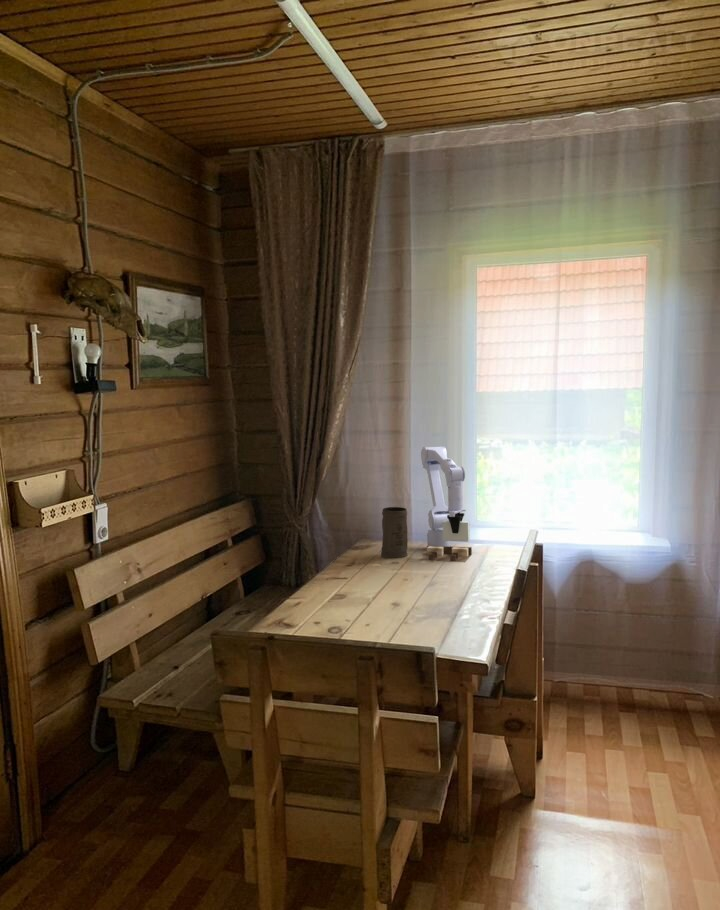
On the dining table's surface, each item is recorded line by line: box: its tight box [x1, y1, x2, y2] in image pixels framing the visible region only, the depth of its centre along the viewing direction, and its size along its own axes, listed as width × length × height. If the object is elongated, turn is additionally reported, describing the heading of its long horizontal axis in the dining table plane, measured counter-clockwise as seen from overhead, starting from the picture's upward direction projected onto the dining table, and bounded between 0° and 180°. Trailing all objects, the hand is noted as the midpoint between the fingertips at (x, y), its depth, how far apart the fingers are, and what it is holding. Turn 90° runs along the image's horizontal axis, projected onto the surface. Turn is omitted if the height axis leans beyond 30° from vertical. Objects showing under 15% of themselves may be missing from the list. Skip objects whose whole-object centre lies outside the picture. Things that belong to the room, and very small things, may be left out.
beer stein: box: [380, 506, 409, 560], centre depth 279 cm, size 15×11×20 cm
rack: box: [419, 545, 473, 563], centre depth 272 cm, size 18×14×4 cm
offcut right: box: [452, 546, 469, 557], centre depth 274 cm, size 6×3×3 cm, turn 71°
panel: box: [443, 520, 471, 543], centre depth 272 cm, size 10×3×8 cm, turn 71°
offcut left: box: [426, 546, 444, 556], centre depth 278 cm, size 6×3×3 cm, turn 71°
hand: (456, 532), depth 272 cm, fingers closed on panel, 3 cm apart
